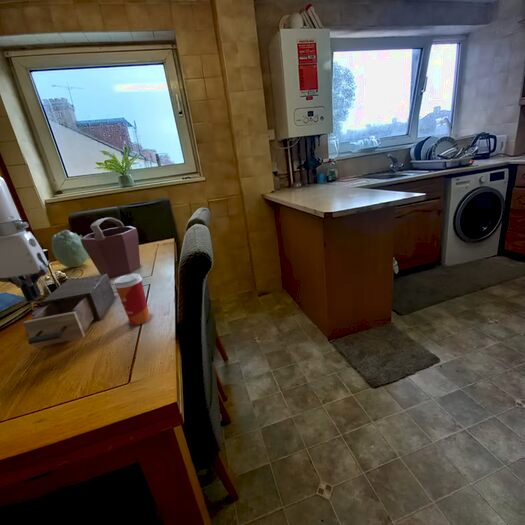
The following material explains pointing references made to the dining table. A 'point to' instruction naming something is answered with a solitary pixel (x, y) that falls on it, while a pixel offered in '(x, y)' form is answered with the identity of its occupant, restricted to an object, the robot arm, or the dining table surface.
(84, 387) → the dining table surface
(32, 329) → the drawer
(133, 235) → the bucket
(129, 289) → the paper cup
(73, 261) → the cabbage
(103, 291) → the cabinet
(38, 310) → the blue cylinder can
